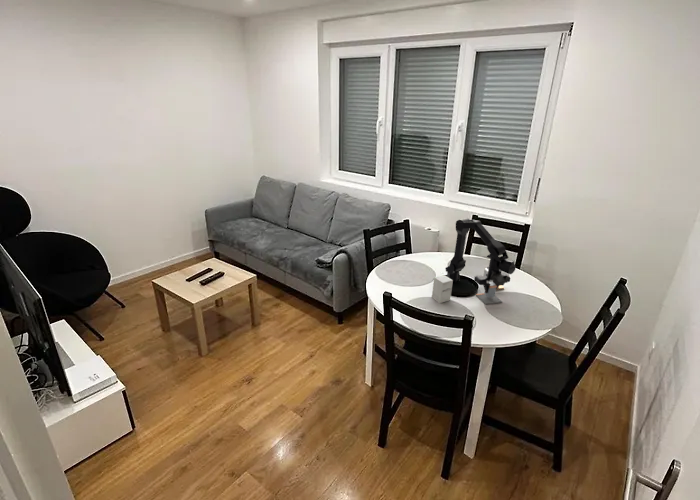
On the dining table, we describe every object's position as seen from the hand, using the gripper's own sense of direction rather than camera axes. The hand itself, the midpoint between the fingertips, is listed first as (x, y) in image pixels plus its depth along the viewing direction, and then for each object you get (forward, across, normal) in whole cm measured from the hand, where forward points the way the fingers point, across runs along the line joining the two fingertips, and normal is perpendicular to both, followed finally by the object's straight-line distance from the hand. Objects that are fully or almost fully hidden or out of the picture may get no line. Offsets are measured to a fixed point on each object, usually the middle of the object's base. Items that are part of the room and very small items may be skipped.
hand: (489, 292), depth 209 cm
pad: (+4, 0, 0) cm, 4 cm away
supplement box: (+4, -26, +6) cm, 27 cm away
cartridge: (+2, 0, 0) cm, 2 cm away
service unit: (+4, +11, +14) cm, 18 cm away
